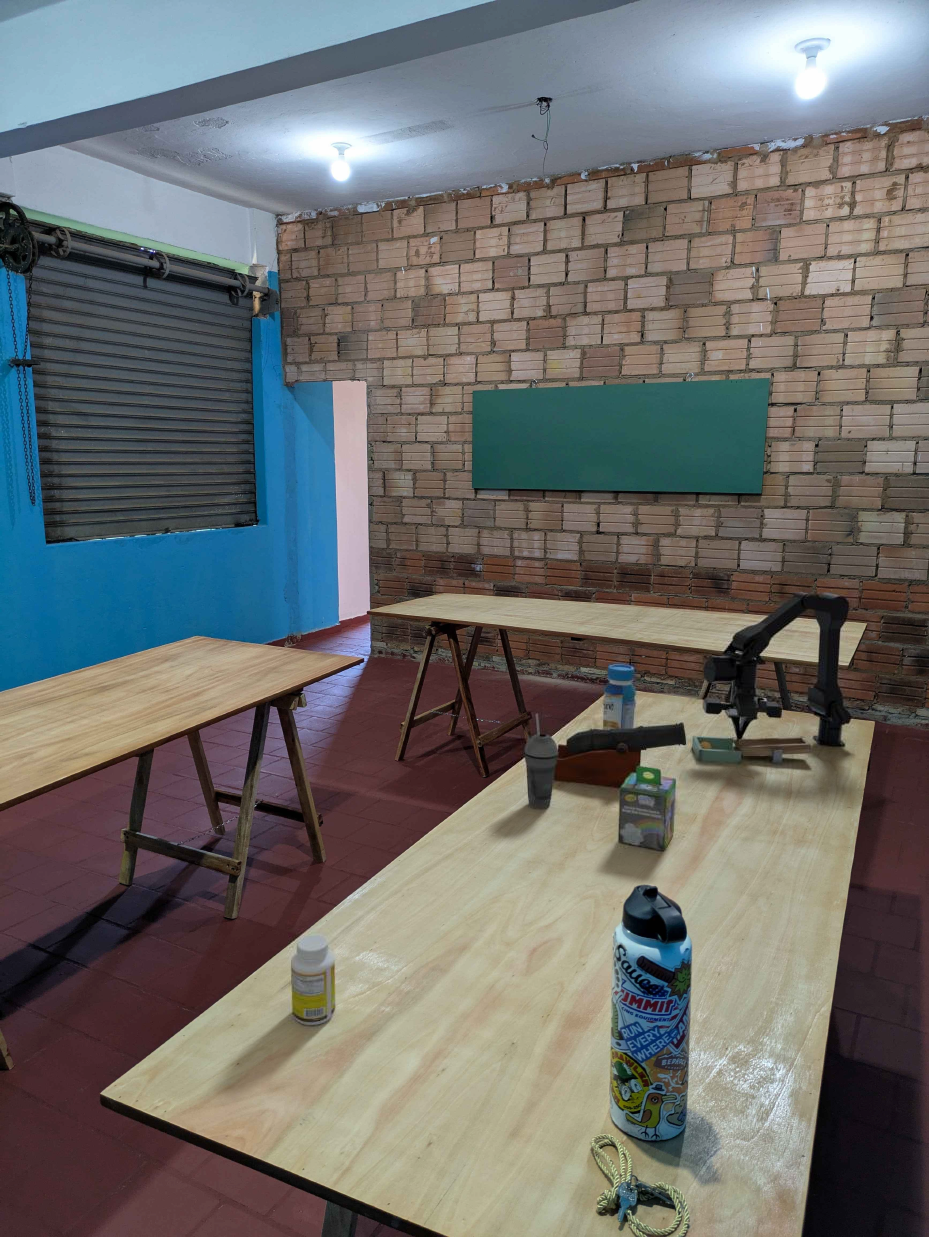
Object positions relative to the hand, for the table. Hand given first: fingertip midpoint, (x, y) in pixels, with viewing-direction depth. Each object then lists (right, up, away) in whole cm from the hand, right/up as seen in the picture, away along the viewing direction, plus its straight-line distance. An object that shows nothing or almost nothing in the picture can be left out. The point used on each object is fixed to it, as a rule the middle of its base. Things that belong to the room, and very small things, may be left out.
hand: (738, 740), depth 218 cm
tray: (-8, -3, -5) cm, 10 cm away
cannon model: (-35, -6, -23) cm, 43 cm away
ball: (-10, -1, -5) cm, 12 cm away
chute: (+7, -1, -4) cm, 8 cm away
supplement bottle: (-90, -20, -108) cm, 142 cm away
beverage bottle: (-31, -1, +4) cm, 31 cm away
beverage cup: (-55, -8, -38) cm, 67 cm away
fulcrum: (+6, -4, -7) cm, 10 cm away
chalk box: (-36, -12, -53) cm, 65 cm away
